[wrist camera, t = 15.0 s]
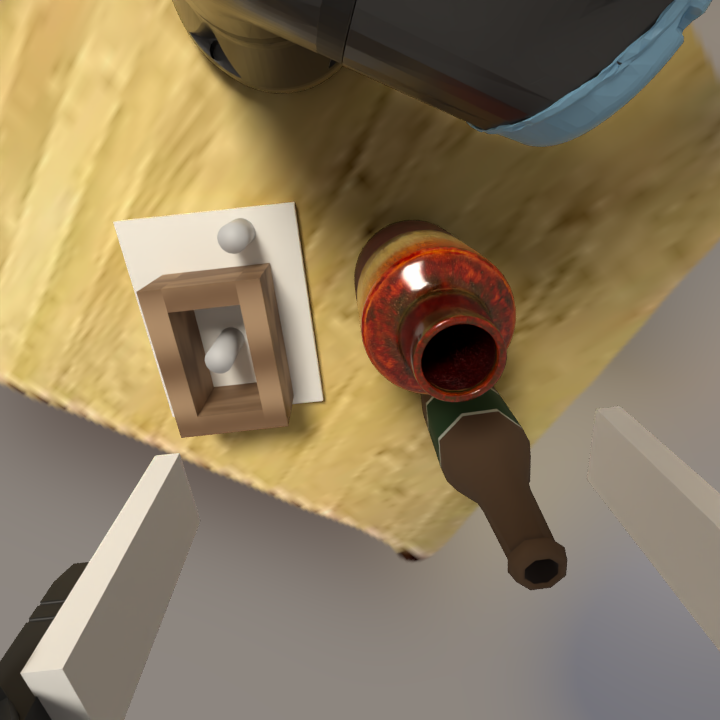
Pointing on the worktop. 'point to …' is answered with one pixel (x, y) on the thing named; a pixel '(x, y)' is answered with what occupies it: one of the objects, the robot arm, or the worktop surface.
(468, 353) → the vase
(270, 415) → the frame
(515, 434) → the beer bottle
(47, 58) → the worktop surface
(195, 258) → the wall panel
